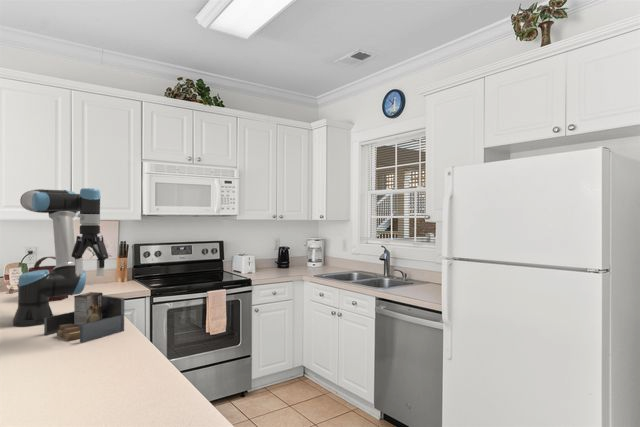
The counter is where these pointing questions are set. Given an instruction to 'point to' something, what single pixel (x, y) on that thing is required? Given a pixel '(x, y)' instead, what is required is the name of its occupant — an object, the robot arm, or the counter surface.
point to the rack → (94, 329)
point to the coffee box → (88, 308)
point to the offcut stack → (69, 332)
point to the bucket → (50, 268)
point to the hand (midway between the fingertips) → (89, 274)
